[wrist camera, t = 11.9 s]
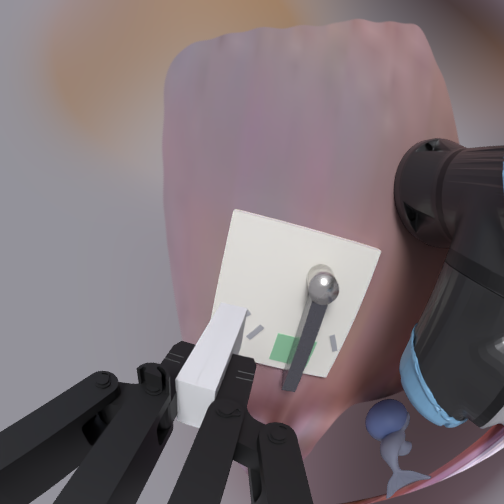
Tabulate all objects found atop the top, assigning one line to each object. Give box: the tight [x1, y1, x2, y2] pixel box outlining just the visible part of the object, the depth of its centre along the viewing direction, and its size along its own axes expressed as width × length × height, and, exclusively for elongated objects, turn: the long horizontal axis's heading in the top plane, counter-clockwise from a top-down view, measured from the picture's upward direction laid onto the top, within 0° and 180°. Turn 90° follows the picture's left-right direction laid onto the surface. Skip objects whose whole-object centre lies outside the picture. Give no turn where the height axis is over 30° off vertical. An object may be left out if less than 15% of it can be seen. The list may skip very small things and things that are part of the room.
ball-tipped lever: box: [282, 264, 339, 392], centre depth 35 cm, size 19×4×4 cm, turn 169°
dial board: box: [211, 209, 381, 378], centre depth 37 cm, size 20×22×2 cm
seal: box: [366, 399, 431, 499], centre depth 32 cm, size 8×12×20 cm
